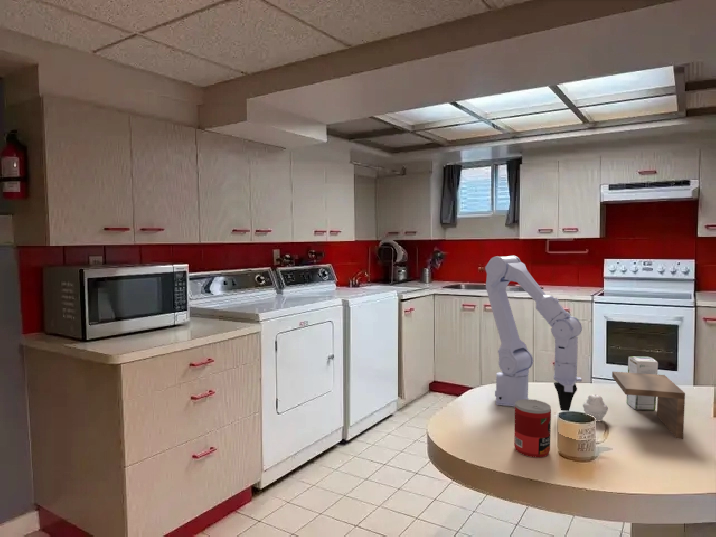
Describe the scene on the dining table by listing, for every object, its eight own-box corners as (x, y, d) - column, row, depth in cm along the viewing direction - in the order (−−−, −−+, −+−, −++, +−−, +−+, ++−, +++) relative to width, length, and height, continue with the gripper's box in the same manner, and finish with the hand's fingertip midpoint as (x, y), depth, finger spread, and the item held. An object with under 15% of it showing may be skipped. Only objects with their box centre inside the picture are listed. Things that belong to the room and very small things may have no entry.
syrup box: (646, 403, 146) (648, 355, 145) (656, 411, 140) (658, 360, 139) (626, 403, 146) (627, 355, 145) (635, 410, 140) (637, 360, 139)
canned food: (546, 461, 109) (547, 413, 109) (510, 453, 114) (510, 406, 113) (553, 448, 116) (554, 402, 115) (518, 441, 120) (519, 397, 119)
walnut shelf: (624, 433, 124) (625, 388, 124) (611, 411, 140) (612, 371, 139) (683, 438, 121) (685, 393, 120) (662, 415, 136) (664, 374, 135)
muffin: (584, 422, 132) (585, 397, 131) (580, 414, 137) (581, 389, 137) (609, 424, 130) (610, 398, 129) (604, 416, 136) (605, 391, 135)
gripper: (586, 369, 127) (584, 420, 128) (577, 356, 141) (576, 402, 142) (556, 367, 129) (555, 418, 130) (551, 354, 143) (550, 400, 144)
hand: (564, 409), depth 136 cm, fingers closed
